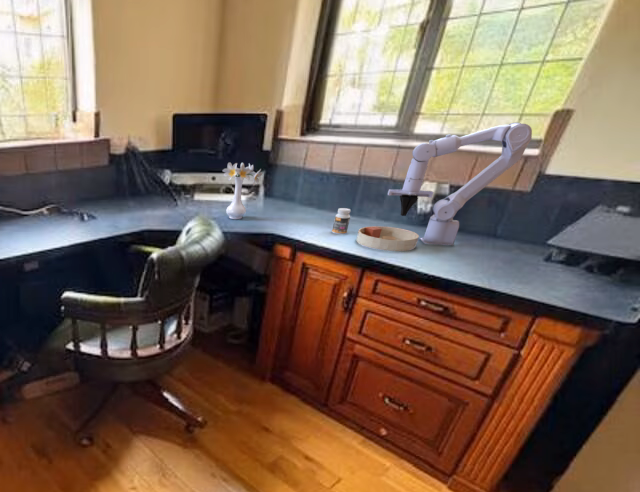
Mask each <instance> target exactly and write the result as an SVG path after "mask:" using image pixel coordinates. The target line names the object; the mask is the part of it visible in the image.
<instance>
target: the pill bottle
mask: <svg viewBox="0 0 640 492" xmlns="http://www.w3.org/2000/svg"><path fill="white" fill-rule="evenodd" d="M351 212H352V211H351V209H350V208H346V207H339V208H338V209H337V213H336V214H335V216H334V220H333V225H332V229H331V232H332V233H333V234H339V235H344V234H347V232H348V229H349V224H350V220H351V215H350V213H351Z"/></svg>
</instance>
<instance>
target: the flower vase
mask: <svg viewBox="0 0 640 492" xmlns="http://www.w3.org/2000/svg"><path fill="white" fill-rule="evenodd" d="M237 165H238V162H235V163H234V164H232V163H231V162H228V163H227V167H226V168H223V169H221V170H222V172H223V177H227V180H228V182H229V181H231V180H232V178H233V177H234V183H235V184H234V185H235V186H234V193H233V197H232V198H233V199H232V201H231V203H230V204H229V205H228V206H227V207H226V210H225V212H226V214H227V215H228V218H229V219H230V220H241V219H243V216H245V214H246V212H247V209H246V207H245V205H244V204H243V201H242V187H243V182H244V180H245V179H246V180H248V181H250V180H251V177H252V179H253V185H252V186H253V187H254V186H255V185H258V184H259V181H260V179H259V178H260V177H261V176H262V175H263V172H261V171H262V168H260V169H259V170H257V172H255V171H254V164H252V165H251V164H250V163H248V166H246V167H245V163H244V162H241V163H240V168H238V167H237ZM250 176H251V177H250Z"/></svg>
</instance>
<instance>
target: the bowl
mask: <svg viewBox="0 0 640 492" xmlns="http://www.w3.org/2000/svg"><path fill="white" fill-rule="evenodd" d="M366 227H367V226H365V227H361V228H359V229H358V231H357V234H356V235H357V236H356V239H355V241H356V243H357V244H359V245H361V246H363V247H366V248H370V249H374V250H378V251H390V252H405V251H406V252H407V251H412V250H414V249H415V248H416V247H417V244H418V241H419V239H420V235H419V234H418V233H417V232H415V231H413V230H408V229H405V228H400V227H393V226H381V225H380V226H379V225H374V227H378V228H381V229H382V230H381V234H380V237H379V238H375V237H371V236H367V235H365V234H364V233H365V229H366ZM370 227H373V225H371V226H370ZM382 236H391V237H395V240H388V239H382Z"/></svg>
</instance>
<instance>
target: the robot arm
mask: <svg viewBox="0 0 640 492" xmlns="http://www.w3.org/2000/svg"><path fill="white" fill-rule="evenodd" d="M532 135H533V129H532V127H531V126H530V125H529V124H527V123H521V122H517V121H516V122H511V123H507V124H500V125H495V126H492V127H489V128H485V129H482V130H478V131H475V132H472V133H469V134H466V135H462V136H458V135H457V134H451V133H449V134H445V137H441V138H438V139H435V140H433V139H430V140H428V142H421V143H419V144H417V145H416V146H415V147H414V149H413V150H412V153H411V155H412V158H411V160H410V163H409V166H408V169H407V173H406V176H405V179H404V183H403V185H402V188H401V189H400V188H397V189H392V188H391V189H390V188H389V189H388V191H387V196H399V200H400V201H399V202H400V216H403V217H406V216H407V215H408V213H409V211H410V209H411V208H412V206H413V205H414V204H415V203H416V202H417V201H418V200H419V197H423V198H425V197H426V198H433V195H434V191H431V190H423V189H422V190H421V188H422V185H423V182H424V179H425V176H426V174H427V170H428V164H429V161H430V159H431V158H432V157H433V158H436V157H441V156H444V155H448V154H452V153H456V152H457V151H458V150H459V149H460V148H461V147H464V146H468V145H472V144H477V143H481V142H485V141H489V140H490V141H498V142H501V153H500V156H499V157H497V158H496V159H495V160H494V161H493V162H491V163H490V164H489V165H488V166H486V167H485V168H483V169H482V170H481V171H480V172H478V174H476V175H475V176H474V177H473V178H471V179H470V180H468V181H467V182H466V183H465V184H464V185H462V186H461V187H460V188H459V189H458V190H456V191H455V192H453V193H451V194H448V195H447V196H446V197H445V198H442V199H439V200H438V201H436V202H435V203H434V205H433V207H432V212H433V214H432V215H431V216H430V217H429V220H428V222H427V223H428V224H427V226H426V229H425V233H424V235H423V237H419V239H420V240H421V241H422V242H423V243H424V244H425V245H426V244H427V245H442V246H454V243H455V240H456V238H457V234H458V232H459V229H460V221H459V220H456V219H454V217H455V216H456V214H457V212H458V211H459V210H461V209H462V208H463V207H464V205H465V204H466V202H468V201H469V200H470V199H471V198H473V197H475V196H476V195H477V194H478V193H479V192H481V191H482V190H483V189H484V188H486V187H487V186H488V185H490V184H491V183H492V182H493V181H495V180H497V178H499V177H500V176H501V175H503V174H504V173H505V172H507V171H508V170H509V169H510V168H511V167H513V166H514V165H515V164H517V163H518V162H520V160H521V159H522V157H523V155H524V153H525V152H526V149H527V147H528V145H529V143H530V142H531V141H532Z"/></svg>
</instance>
